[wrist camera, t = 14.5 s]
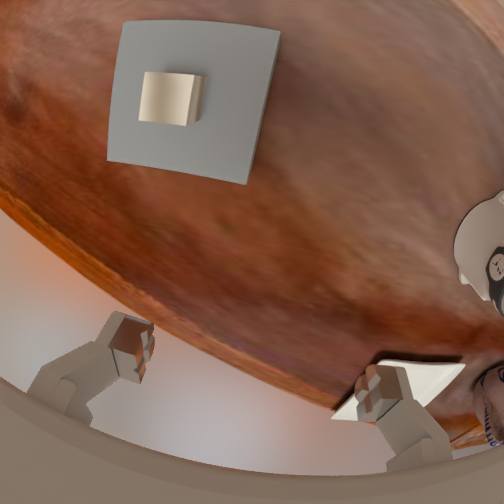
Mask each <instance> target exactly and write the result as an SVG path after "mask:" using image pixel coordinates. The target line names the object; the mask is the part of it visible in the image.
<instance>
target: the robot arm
mask: <svg viewBox="0 0 504 504" xmlns="http://www.w3.org/2000/svg"><path fill="white" fill-rule="evenodd" d="M454 256H455V260H456V263H457V265H458V267H459V276H458V277H459V281H460V282H461V283H462V284H471V286H472V287H473V288H474V289H475V291H476V292H477V293H478V294H479V296H480V297H481V298H482V299H483V300H484V301H485V300H489V301H490V300H491V301H492V302H493V304H494V306H495V308H496V309H497V310H498V311H499V312H500V314H501V315H502V316H504V190H502V191H501V192H500V193H498V194H497V195H496V196H495V197H494V198H492V199H490V200H487V201H484V202H482V203H480V204H479V205H477V206H476V207H475V208H473V209H472V210H471V211H470V212H469V213H468V215H467V216H466V217H465V219H464V220H463V222H462V223H461V225H460V227H459V230H458V232H457V235H456V238H455V243H454ZM153 330H154V324H153V323H151V322H148V321H145V320H142V319H139V318H136V317H133V316H130V315H127V314H124V313H121V312H118V311H114V312H113V313H112V314H111V315H110V317H109V319H108V320H107V322H106V324H105V325H104V327H103V329H102V330H101V332H100V334H99V335H98V337H97V339H96V340H95V342H92V341H90V342H88V343H86V344H84V345H82V346H81V347H79V348H77V349H75V350H73V351H71V352H69V353H67V354H65V355H64V356H61V357H59V358H57V359H55V360H54V361H51V362H50V363H48V364H46V365H44V366H42V367H41V369H40V371H39V372H38V374H37V376H36V377H35V379H34V381H33V382H32V384H31V386H30V388H29V389H28V391H27V393H25V392H23V391H21V390H19V389H18V388H17V387H15V386H14V385H12V384H10V383H9V382H7V381H6V380H4V379H3V378H2V377H0V504H504V445H500V446H497V447H495V448H492V449H489V450H486V451H483V452H480V453H476V454H473V455H470V456H466V457H463V458H459V459H455V460H453V457H452V452H451V447H450V442H449V438H448V434H447V433H446V432H445V431H444V430H443V429H442V428H441V426H440V425H439V424H438V423H437V422H436V421H435V420H434V419H433V417H432V416H431V415H430V414H429V413H428V412H427V411H426V410H425V408H424V407H423V406H422V405H421V404H420V403H419V402H418V401H417V400H414V398H413V394H412V390H411V387H410V383H409V379H408V376H407V372H406V369H405V368H404V367H399V366H389V365H375V364H371V365H369V366H368V367H367V368H366V374H364V375H362V376H360V377H359V379H358V380H357V382H356V385H355V391H354V393H355V398H356V400H357V401H358V402H359V403H358V405H357V407H356V410H357V418H358V421H366V422H376V424H377V426H378V427H379V429H380V430H381V432H382V434H383V435H384V437H385V438H386V440H387V441H388V443H389V445H390V446H391V447H392V449H393V451H394V452H395V454H396V456H395V457H394V458H392V459H390V460H389V461H388V462H387V463H386V466H387V472H384V473H374V474H361V475H340V476H308V475H286V474H273V473H263V472H254V471H246V470H239V469H233V468H227V467H221V466H216V465H211V464H205V463H201V462H196V461H192V460H187V459H184V458H180V457H176V456H172V455H168V454H164V453H161V452H158V451H155V450H151V449H148V448H145V447H142V446H139V445H136V444H133V443H130V442H127V441H124V440H122V439H119V438H116V437H114V436H111V435H109V434H106V433H104V432H101V431H99V430H97V429H94V428H92V427H90V424H91V421H92V419H93V416H92V414H91V412H90V411H89V408H88V407H87V405H86V403H87V402H88V401H89V400H91V399H92V398H93V397H95V396H96V395H98V394H99V393H100V392H102V391H103V390H104V389H106V388H107V387H109V386H110V385H111V384H113V383H114V382H115V381H117V380H118V379H119V377H120V378H123V379H126V380H129V381H132V382H136V383H139V384H141V381H142V379H143V376H144V374H145V371H146V366H145V363H147V362H148V361H150V359H151V356H152V353H153V350H154V344H155V340H154V339H155V338H154V336H153V335H152V333H153Z"/></svg>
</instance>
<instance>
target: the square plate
mask: <svg viewBox="0 0 504 504" xmlns="http://www.w3.org/2000/svg"><path fill="white" fill-rule="evenodd" d="M376 365H389V366H399V367H404V368H405V369H406V372H407V376H408V379H409V383H410V387H411V390H412V394H413V398H414V400H417V401H418V402H419V403H420V404H421V405H422V406H423V407H424V406H426V405H427V404H428V403H429V402H430V401H431V400H433V399H434V398H435V397H436V396H437V395H438V394H439V393H440V392H441V391H442V390H443V389H444V388H445V387H446V386H447V385H448V384H449V383H450V382H451V381H452V380H453V379H454V378H455V377H456V376H457V375H458V374H459V373H460V371H461V370H462V369H463V368H464V367H465V364H463V363H454V362H415V361H405V360H396V359H382V360H380V361H379V362H378V363H377V364H376ZM358 403H359V402H358V401H357V400H356V398H355V393H353V394H352V395H351V396H350V397H349V398H348V399H347V400H346V401H345V402H344V403H343V404H342V405H341V406H340V407H339V408H338V410H337V411H336V412H335V414H334V415H333V416H332V417H331V419H338V420H358V418H357V410H356V407H357V405H358Z"/></svg>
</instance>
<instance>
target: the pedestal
mask: <svg viewBox="0 0 504 504" xmlns="http://www.w3.org/2000/svg"><path fill="white" fill-rule="evenodd" d="M280 43H281V31H277V30H271V29H266V28H260V27H254V26H247V25H240V24H231V23H222V22H210V21H194V20H143V21H127V22H124V24H123V28H122V33H121V38H120V43H119V49H118V54H117V60H116V67H115V73H114V81H113V89H112V97H111V107H110V118H109V133H108V153H107V161H115V162H122V163H129V164H135V165H142V166H148V167H154V168H160V169H166V170H172V171H178V172H183V173H189V174H194V175H199V176H205V177H210V178H215V179H220V180H225V181H229V182H234V183H239V184H243V185H246V184H247V182H248V179H249V176H250V173H251V171H252V166H253V161H254V157H255V152H256V148H257V143H258V139H259V134H260V130H261V125H262V121H263V116H264V112H265V107H266V103H267V98H268V94H269V90H270V85H271V81H272V77H273V72H274V68H275V64H276V60H277V55H278V51H279V47H280ZM145 72H162V73H176V74H188V75H197V76H205V77H208V78H207V83H206V88H205V94H204V99H203V105H202V111H201V116H200V120H199V121H197V122H194V123H192V124H189V125H187V126H182V125H174V124H166V123H158V122H149V121H139V112H140V104H141V96H142V89H143V82H144V75H145Z"/></svg>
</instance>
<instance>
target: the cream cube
mask: <svg viewBox="0 0 504 504" xmlns="http://www.w3.org/2000/svg"><path fill="white" fill-rule="evenodd" d="M207 78H208V77H205V76H197V75H188V74H176V73H162V72H145V75H144V82H143V89H142V96H141V104H140V112H139V121H149V122H158V123H166V124H174V125H182V126H187V125H189V124H192V123H194V122H197V121H199V120H200V116H201V111H202V105H203V99H204V94H205V88H206V83H207Z"/></svg>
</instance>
